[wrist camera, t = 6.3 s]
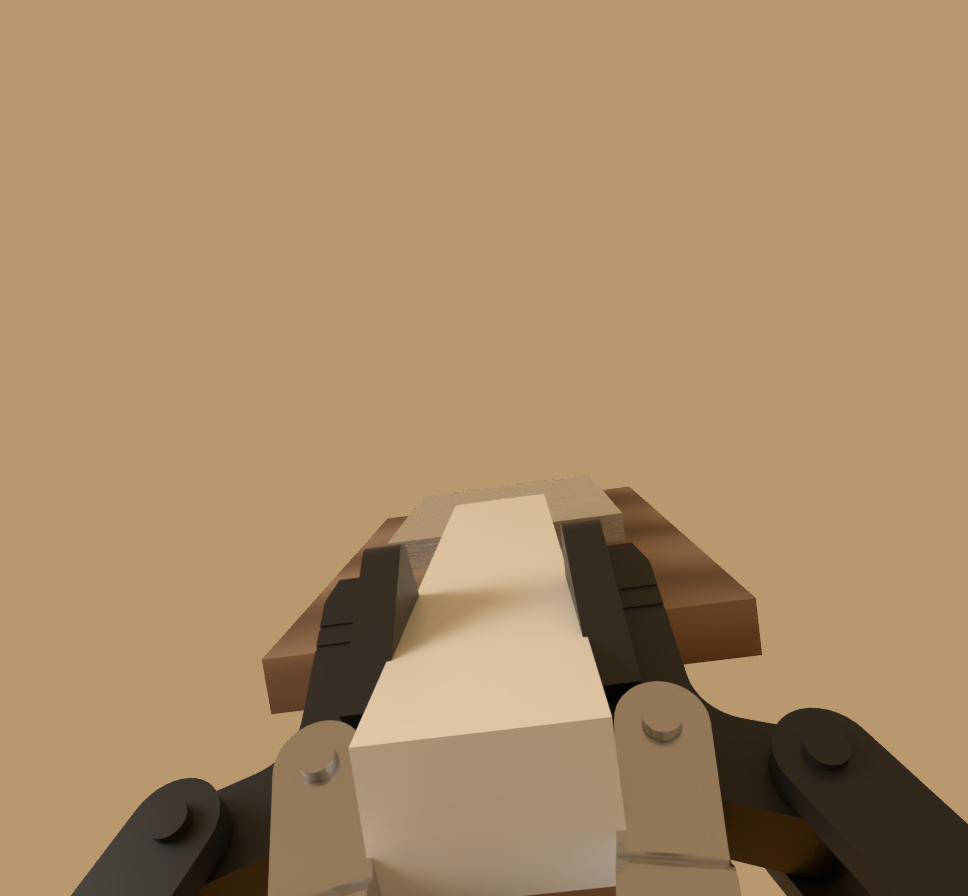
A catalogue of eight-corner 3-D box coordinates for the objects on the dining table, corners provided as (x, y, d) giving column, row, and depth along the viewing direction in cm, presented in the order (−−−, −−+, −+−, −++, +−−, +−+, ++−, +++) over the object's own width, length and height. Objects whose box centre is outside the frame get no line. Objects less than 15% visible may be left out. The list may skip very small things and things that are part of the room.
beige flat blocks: (856, 860, 8) (838, 690, 8) (167, 933, 8) (136, 772, 8) (591, 495, 34) (586, 453, 34) (426, 517, 34) (419, 476, 34)
